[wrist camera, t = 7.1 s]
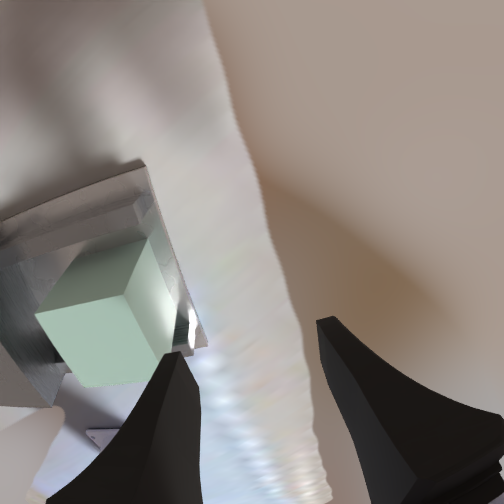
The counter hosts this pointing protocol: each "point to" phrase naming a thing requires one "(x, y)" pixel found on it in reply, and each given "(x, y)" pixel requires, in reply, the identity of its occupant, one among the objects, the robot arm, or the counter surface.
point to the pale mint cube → (111, 316)
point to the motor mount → (57, 261)
